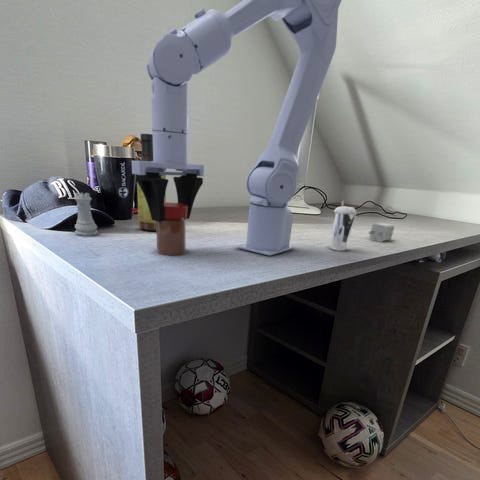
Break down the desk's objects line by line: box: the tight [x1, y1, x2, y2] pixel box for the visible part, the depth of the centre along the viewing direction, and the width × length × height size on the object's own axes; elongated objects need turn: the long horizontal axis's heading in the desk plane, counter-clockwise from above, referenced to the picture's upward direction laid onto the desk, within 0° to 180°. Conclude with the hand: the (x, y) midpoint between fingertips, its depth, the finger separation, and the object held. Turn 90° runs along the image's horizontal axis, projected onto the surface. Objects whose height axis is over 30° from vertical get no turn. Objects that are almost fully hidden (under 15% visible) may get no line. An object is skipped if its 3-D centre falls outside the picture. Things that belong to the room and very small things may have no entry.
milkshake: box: [330, 200, 357, 252], centre depth 75 cm, size 5×5×10 cm
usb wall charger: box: [368, 222, 395, 242], centre depth 89 cm, size 4×7×4 cm, turn 132°
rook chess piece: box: [73, 192, 99, 237], centre depth 70 cm, size 4×4×8 cm
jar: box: [155, 218, 187, 256], centre depth 62 cm, size 5×5×8 cm
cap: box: [164, 201, 188, 218], centre depth 61 cm, size 6×6×2 cm
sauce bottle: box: [136, 133, 167, 232], centre depth 77 cm, size 7×6×20 cm
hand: (171, 219), depth 62 cm, fingers open, 6 cm apart
